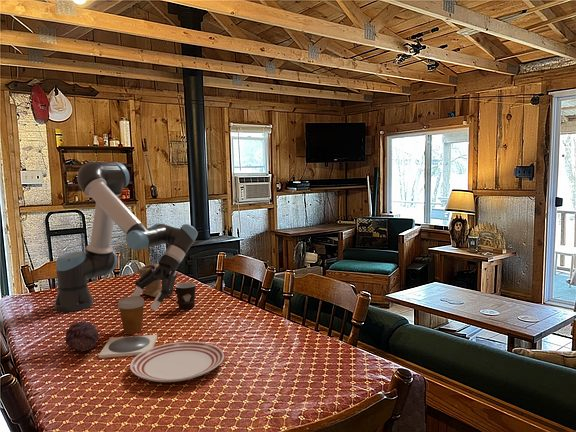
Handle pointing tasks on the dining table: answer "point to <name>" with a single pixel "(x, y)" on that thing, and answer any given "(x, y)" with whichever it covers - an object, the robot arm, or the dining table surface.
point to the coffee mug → (185, 295)
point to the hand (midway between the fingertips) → (141, 306)
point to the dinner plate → (176, 361)
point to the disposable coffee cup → (131, 314)
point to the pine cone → (81, 336)
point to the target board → (127, 346)
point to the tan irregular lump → (155, 286)
